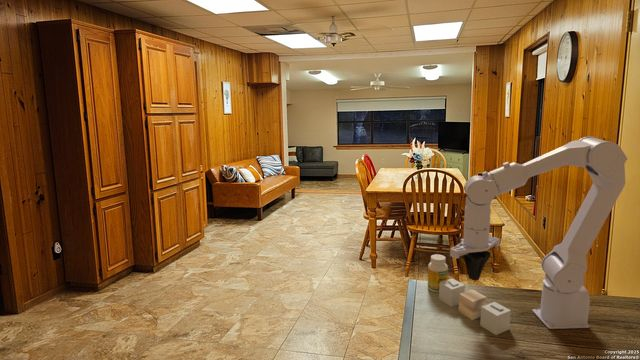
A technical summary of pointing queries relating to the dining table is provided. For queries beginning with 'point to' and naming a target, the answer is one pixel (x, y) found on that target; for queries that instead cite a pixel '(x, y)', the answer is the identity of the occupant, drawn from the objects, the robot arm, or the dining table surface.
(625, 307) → the dining table surface
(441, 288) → the marked block 7
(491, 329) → the marked block 1
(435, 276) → the supplement bottle
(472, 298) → the plain block
